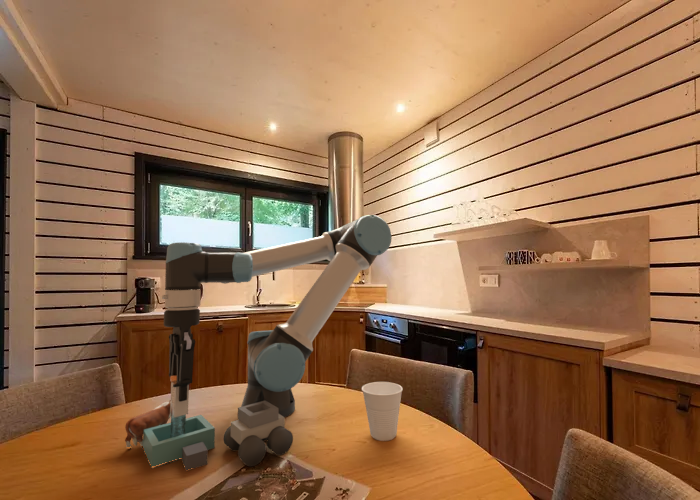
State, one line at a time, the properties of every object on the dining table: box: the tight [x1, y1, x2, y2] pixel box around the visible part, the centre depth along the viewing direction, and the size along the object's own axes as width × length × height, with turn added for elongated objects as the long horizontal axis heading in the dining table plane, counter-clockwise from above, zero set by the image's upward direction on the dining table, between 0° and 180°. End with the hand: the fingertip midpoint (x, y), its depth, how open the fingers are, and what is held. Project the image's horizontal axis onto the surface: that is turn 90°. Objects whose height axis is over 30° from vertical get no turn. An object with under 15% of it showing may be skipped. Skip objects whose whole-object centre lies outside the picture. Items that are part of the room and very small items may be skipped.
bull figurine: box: [124, 399, 171, 448], centre depth 79 cm, size 4×13×8 cm, turn 153°
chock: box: [181, 442, 209, 471], centre depth 69 cm, size 4×4×3 cm
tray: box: [142, 414, 216, 468], centre depth 75 cm, size 10×12×4 cm
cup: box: [361, 381, 404, 442], centre depth 79 cm, size 10×10×11 cm
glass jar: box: [169, 374, 187, 437], centre depth 75 cm, size 4×4×13 cm
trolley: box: [223, 401, 294, 467], centre depth 73 cm, size 11×11×9 cm
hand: (179, 412), depth 75 cm, fingers closed on glass jar, 3 cm apart
